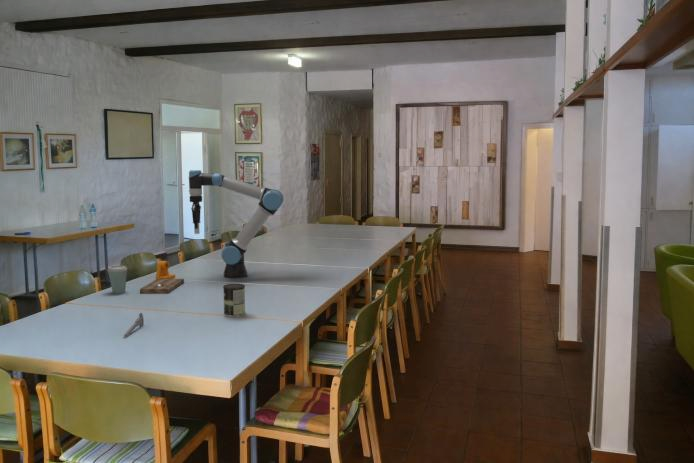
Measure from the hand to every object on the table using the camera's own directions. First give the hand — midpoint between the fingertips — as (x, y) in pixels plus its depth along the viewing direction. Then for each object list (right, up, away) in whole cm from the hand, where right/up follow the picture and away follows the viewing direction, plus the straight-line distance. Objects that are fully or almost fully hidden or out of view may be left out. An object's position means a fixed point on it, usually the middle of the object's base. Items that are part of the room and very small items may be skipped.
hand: (197, 233), depth 370 cm
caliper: (-1, -43, -108) cm, 116 cm away
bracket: (-21, -29, +6) cm, 36 cm away
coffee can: (+38, -39, -79) cm, 96 cm away
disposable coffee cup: (-37, -33, -30) cm, 58 cm away
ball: (-16, -31, -24) cm, 42 cm away
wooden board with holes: (-16, -32, -18) cm, 40 cm away
